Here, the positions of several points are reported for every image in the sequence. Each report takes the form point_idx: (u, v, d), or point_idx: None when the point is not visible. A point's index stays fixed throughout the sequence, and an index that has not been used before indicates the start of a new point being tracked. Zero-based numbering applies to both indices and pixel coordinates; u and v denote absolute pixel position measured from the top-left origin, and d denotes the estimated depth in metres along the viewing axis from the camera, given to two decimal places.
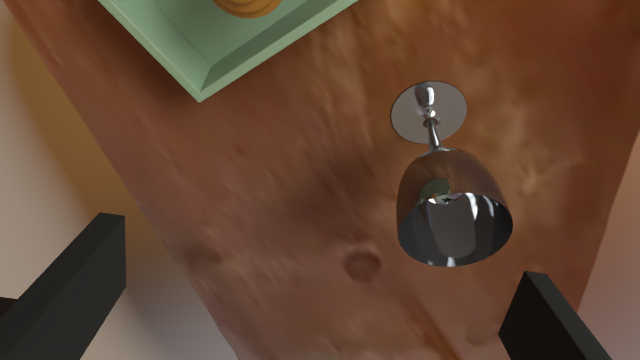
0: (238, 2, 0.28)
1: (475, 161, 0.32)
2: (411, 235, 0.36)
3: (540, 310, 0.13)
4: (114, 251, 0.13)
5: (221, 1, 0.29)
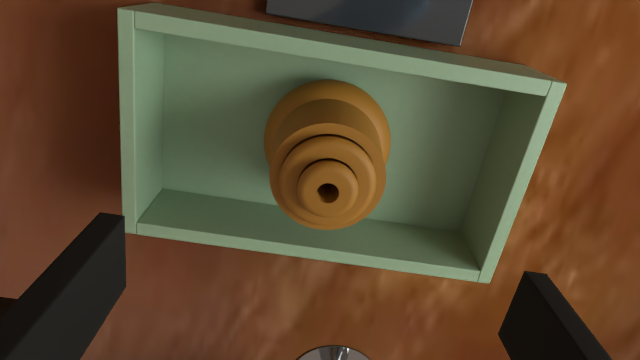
0: (307, 206, 0.21)
1: None
2: None
3: (540, 310, 0.13)
4: (114, 251, 0.13)
5: (284, 185, 0.21)
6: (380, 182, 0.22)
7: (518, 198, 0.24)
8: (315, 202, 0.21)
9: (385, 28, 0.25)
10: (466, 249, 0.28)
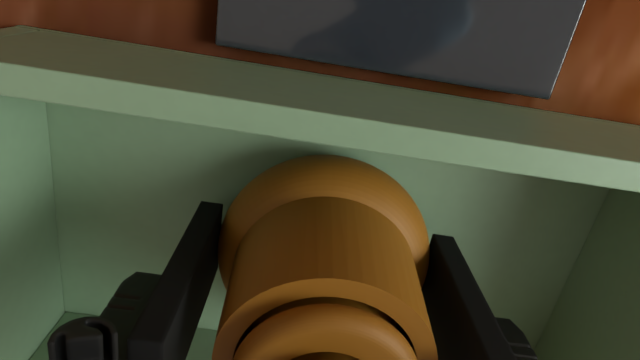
0: None
1: None
2: None
3: (440, 266, 0.15)
4: (216, 235, 0.15)
5: None
6: None
7: None
8: None
9: (423, 69, 0.14)
10: None
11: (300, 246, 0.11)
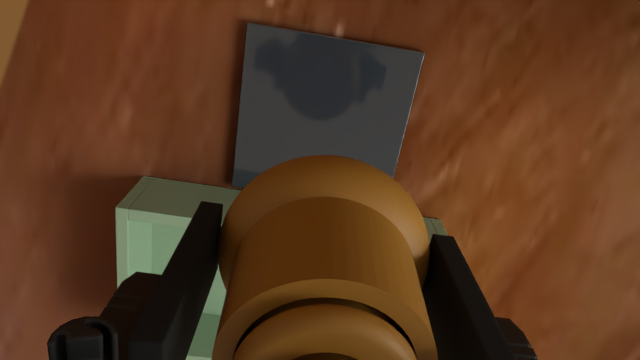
0: None
1: None
2: None
3: (440, 266, 0.15)
4: (216, 235, 0.15)
5: None
6: None
7: None
8: None
9: None
10: None
11: (300, 247, 0.11)
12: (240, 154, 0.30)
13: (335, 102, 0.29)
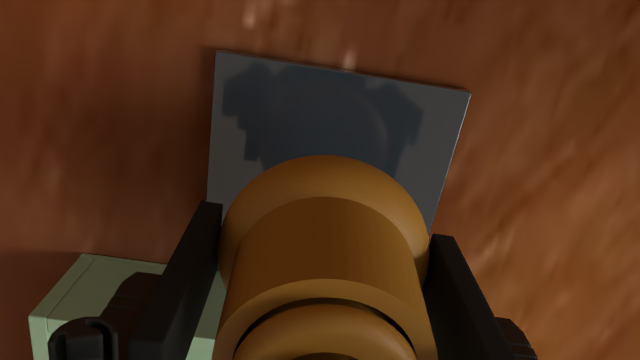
0: None
1: None
2: None
3: (440, 266, 0.15)
4: (216, 235, 0.15)
5: None
6: None
7: None
8: None
9: None
10: None
11: (300, 246, 0.11)
12: None
13: None
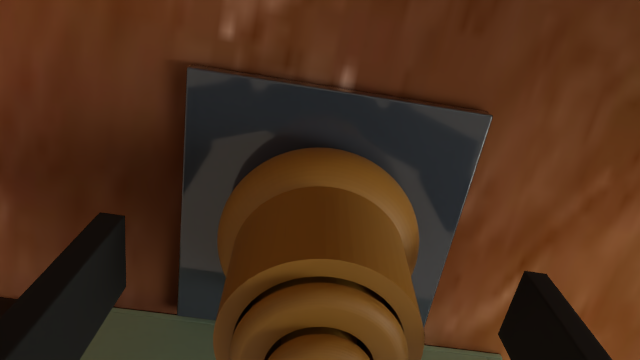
0: None
1: None
2: None
3: (541, 310, 0.13)
4: (114, 251, 0.13)
5: None
6: (413, 351, 0.12)
7: None
8: None
9: None
10: None
11: (295, 231, 0.12)
12: (187, 271, 0.19)
13: None
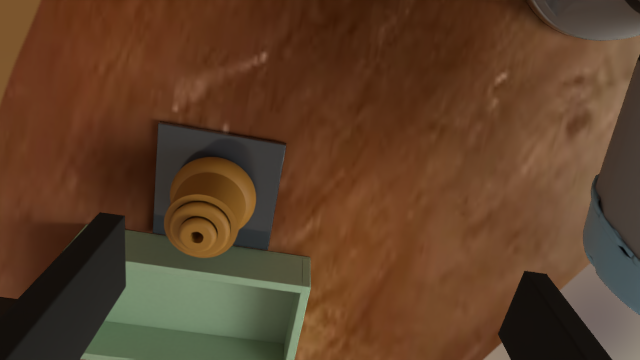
0: (184, 245, 0.34)
1: None
2: None
3: (541, 310, 0.13)
4: (114, 251, 0.13)
5: (171, 231, 0.34)
6: (234, 229, 0.35)
7: (296, 340, 0.43)
8: (189, 242, 0.34)
9: None
10: (281, 359, 0.47)
11: (194, 186, 0.35)
12: (157, 211, 0.41)
13: None
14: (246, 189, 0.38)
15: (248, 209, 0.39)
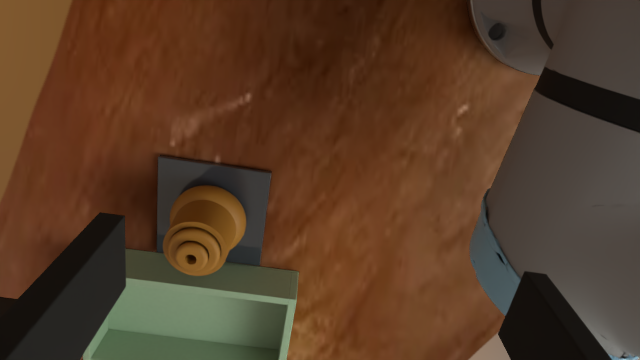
0: (180, 266, 0.39)
1: None
2: None
3: (541, 310, 0.13)
4: (114, 251, 0.13)
5: (169, 254, 0.39)
6: (224, 251, 0.40)
7: (286, 347, 0.47)
8: (184, 263, 0.39)
9: None
10: None
11: (188, 214, 0.40)
12: (160, 232, 0.47)
13: None
14: (236, 213, 0.43)
15: (238, 231, 0.44)
